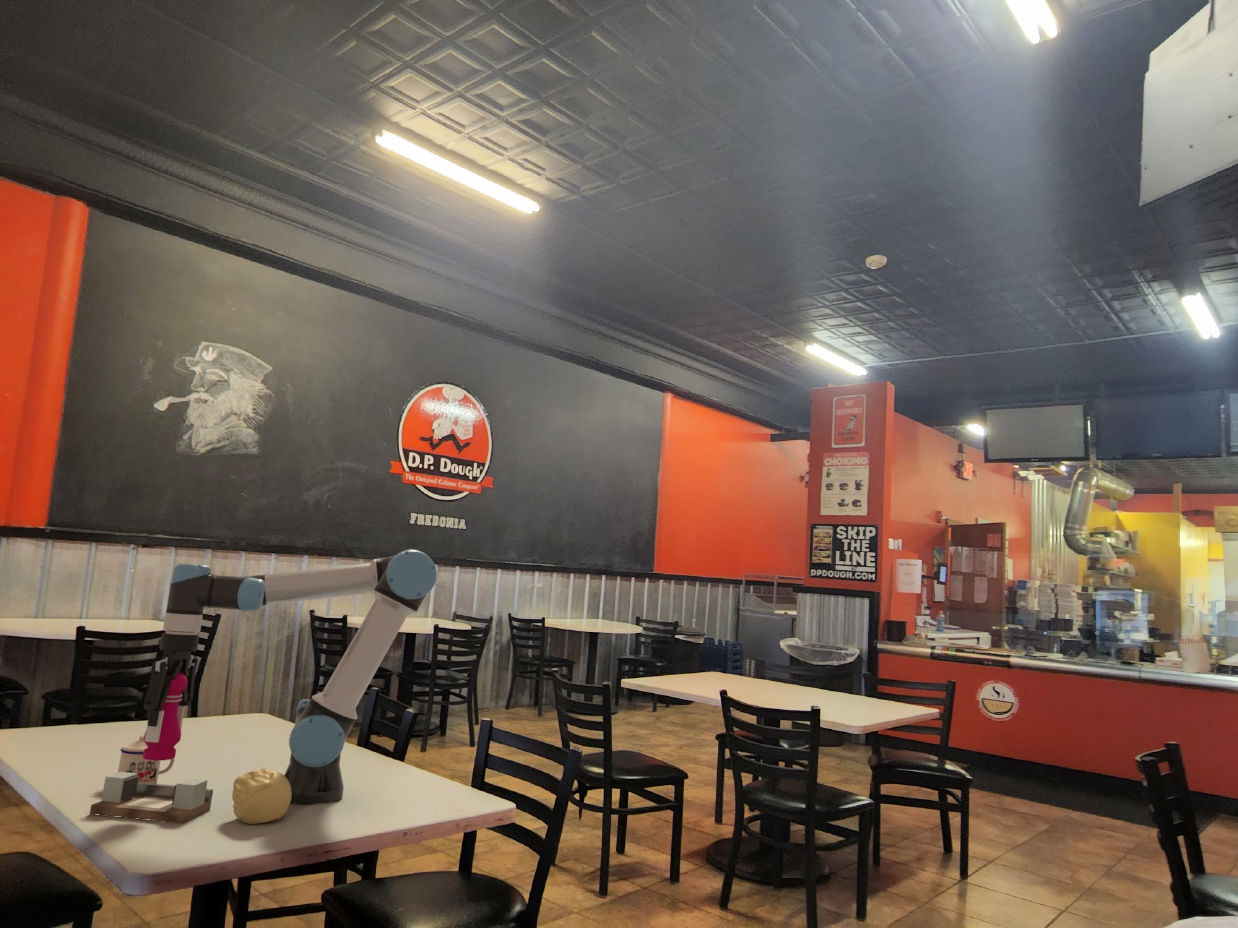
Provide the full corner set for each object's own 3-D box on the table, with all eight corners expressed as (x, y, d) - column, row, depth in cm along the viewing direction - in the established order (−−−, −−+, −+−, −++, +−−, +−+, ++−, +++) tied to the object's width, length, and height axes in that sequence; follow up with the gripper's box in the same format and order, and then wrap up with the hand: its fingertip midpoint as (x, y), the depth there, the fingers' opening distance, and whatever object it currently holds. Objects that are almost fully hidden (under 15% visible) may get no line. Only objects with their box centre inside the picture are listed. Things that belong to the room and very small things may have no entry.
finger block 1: (136, 797, 177) (140, 773, 178) (121, 802, 172) (125, 778, 173) (116, 795, 177) (120, 771, 178) (101, 800, 173) (105, 776, 173)
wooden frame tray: (210, 809, 179) (211, 800, 179) (180, 823, 168) (182, 813, 168) (124, 801, 180) (125, 791, 181) (89, 814, 169) (91, 804, 170)
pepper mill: (148, 762, 171) (165, 666, 174) (134, 756, 175) (151, 662, 179) (183, 758, 177) (199, 666, 180) (168, 752, 181) (184, 662, 184)
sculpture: (220, 816, 175) (228, 765, 177) (275, 810, 183) (282, 760, 185) (239, 830, 167) (247, 776, 168) (296, 822, 175) (303, 771, 177)
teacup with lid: (118, 791, 187) (127, 740, 189) (110, 783, 194) (119, 733, 196) (174, 787, 195) (182, 737, 197) (165, 778, 202) (173, 730, 204)
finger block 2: (203, 803, 176) (207, 780, 177) (190, 809, 171) (194, 785, 172) (183, 801, 177) (187, 778, 177) (170, 807, 172) (174, 783, 173)
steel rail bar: (211, 800, 179) (213, 789, 180) (208, 801, 178) (210, 790, 179) (125, 792, 181) (127, 780, 181) (122, 793, 179) (124, 782, 180)
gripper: (190, 629, 191) (173, 729, 187) (136, 632, 171) (116, 744, 167) (220, 632, 190) (204, 732, 186) (170, 635, 170) (150, 748, 167)
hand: (162, 738), depth 177 cm, fingers closed on pepper mill, 7 cm apart
